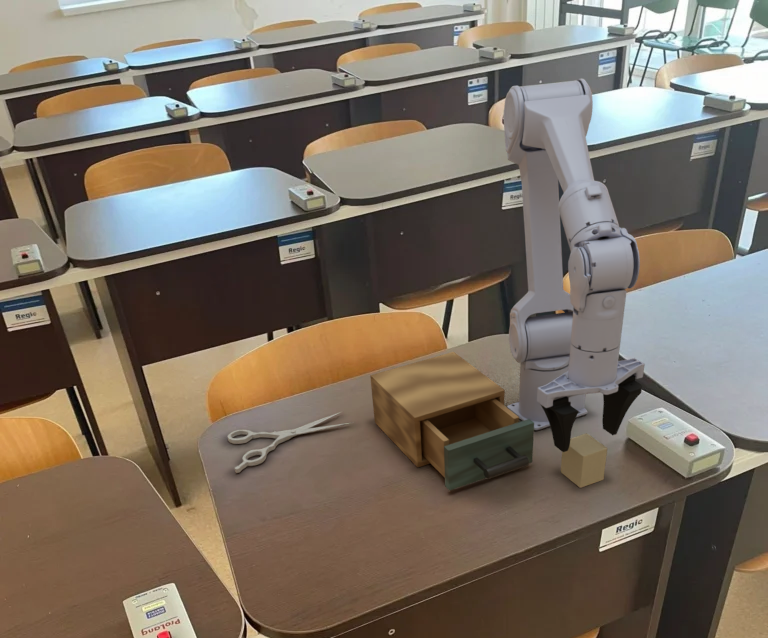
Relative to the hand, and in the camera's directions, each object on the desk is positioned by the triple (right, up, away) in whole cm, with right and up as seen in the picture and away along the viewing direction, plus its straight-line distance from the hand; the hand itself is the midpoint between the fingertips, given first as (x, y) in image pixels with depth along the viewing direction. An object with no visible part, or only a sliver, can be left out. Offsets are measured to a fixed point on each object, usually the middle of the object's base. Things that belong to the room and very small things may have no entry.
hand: (585, 439), depth 98 cm
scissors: (-40, +2, +17) cm, 44 cm away
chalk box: (0, -5, +4) cm, 6 cm away
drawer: (-14, -2, +7) cm, 15 cm away
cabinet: (-18, +3, +15) cm, 24 cm away
